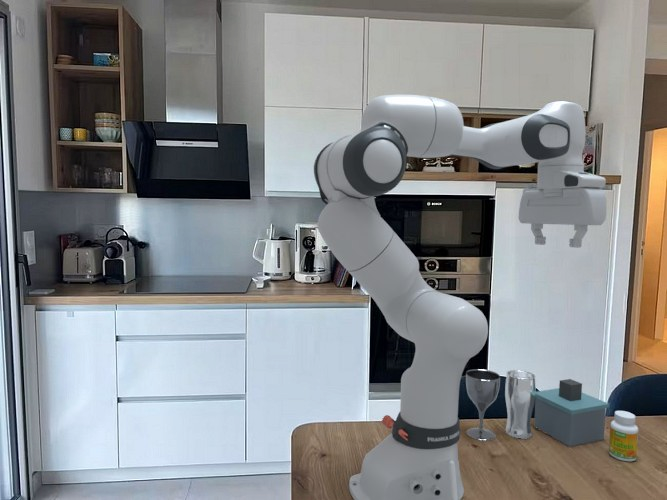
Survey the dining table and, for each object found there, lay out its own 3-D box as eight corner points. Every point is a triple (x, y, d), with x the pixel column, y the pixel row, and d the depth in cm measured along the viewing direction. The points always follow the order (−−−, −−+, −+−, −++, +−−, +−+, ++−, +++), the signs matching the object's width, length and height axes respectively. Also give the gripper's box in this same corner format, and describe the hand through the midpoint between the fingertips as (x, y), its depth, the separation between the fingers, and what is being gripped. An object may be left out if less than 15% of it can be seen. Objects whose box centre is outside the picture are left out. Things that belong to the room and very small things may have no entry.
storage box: (569, 446, 110) (571, 413, 110) (534, 427, 121) (535, 396, 120) (603, 439, 114) (605, 407, 114) (566, 420, 125) (568, 391, 124)
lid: (571, 414, 109) (572, 393, 109) (532, 396, 120) (533, 376, 120) (609, 407, 114) (610, 387, 113) (568, 390, 125) (569, 371, 124)
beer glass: (536, 441, 113) (539, 380, 112) (505, 438, 114) (508, 377, 113) (530, 428, 120) (532, 370, 119) (501, 426, 121) (503, 368, 120)
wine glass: (460, 426, 121) (462, 368, 119) (492, 427, 120) (494, 369, 119) (468, 441, 113) (470, 379, 112) (502, 442, 112) (504, 380, 111)
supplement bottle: (609, 458, 105) (612, 416, 105) (607, 448, 110) (610, 407, 109) (638, 464, 103) (640, 421, 102) (634, 453, 108) (637, 412, 107)
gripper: (513, 183, 109) (510, 243, 110) (589, 177, 90) (586, 249, 91) (534, 184, 111) (532, 242, 112) (613, 178, 92) (609, 249, 93)
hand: (556, 245), depth 101 cm, fingers open, 8 cm apart
